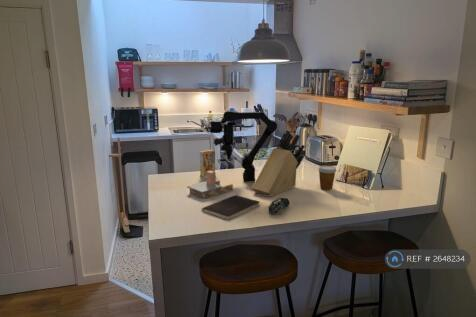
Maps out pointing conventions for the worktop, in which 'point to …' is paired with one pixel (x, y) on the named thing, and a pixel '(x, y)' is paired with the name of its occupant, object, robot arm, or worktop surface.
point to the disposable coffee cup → (326, 177)
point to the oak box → (213, 191)
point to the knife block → (280, 167)
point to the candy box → (207, 161)
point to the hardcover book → (231, 206)
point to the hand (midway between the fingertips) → (228, 159)
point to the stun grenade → (278, 205)
